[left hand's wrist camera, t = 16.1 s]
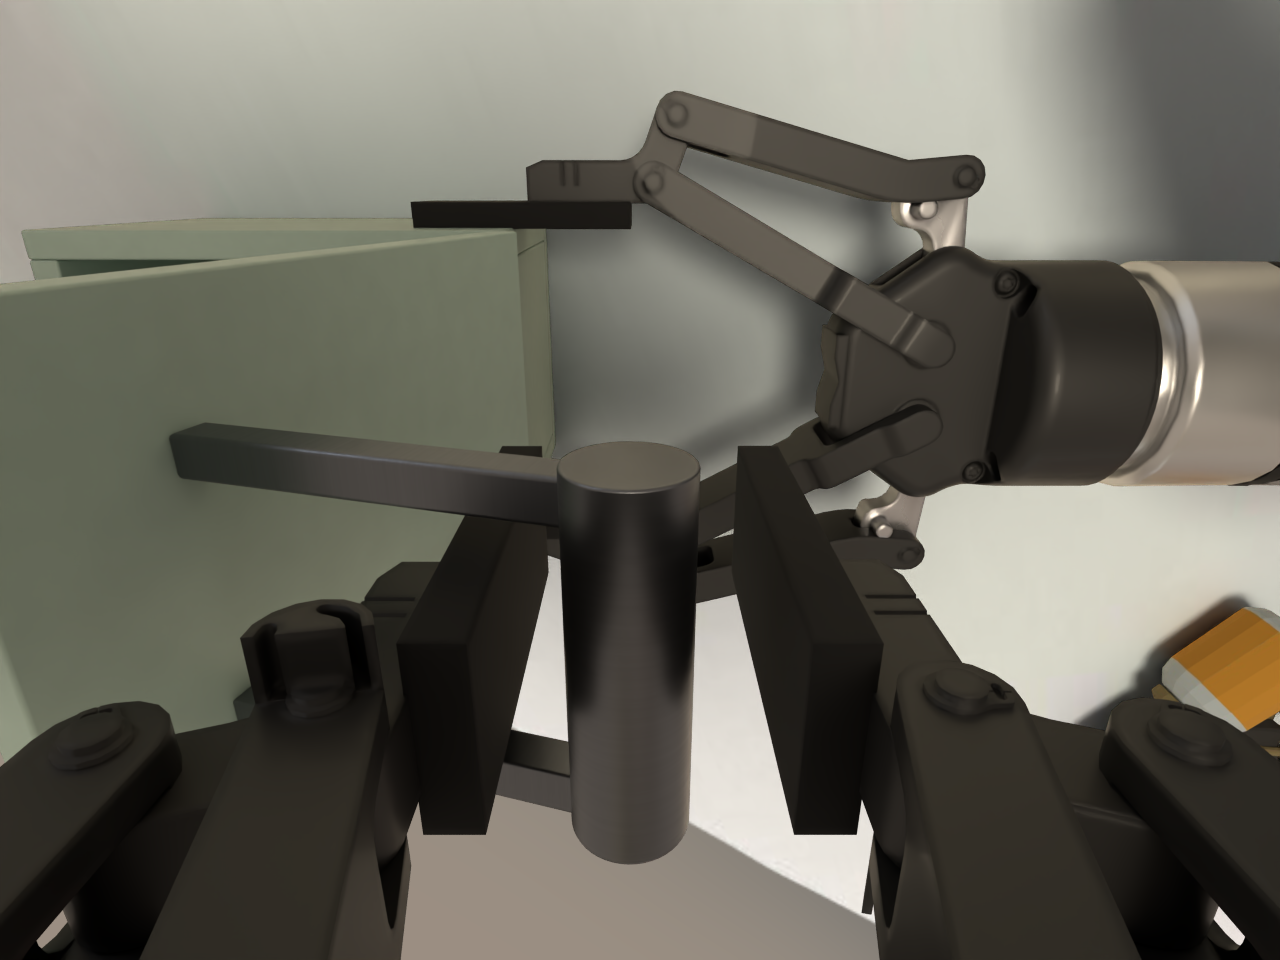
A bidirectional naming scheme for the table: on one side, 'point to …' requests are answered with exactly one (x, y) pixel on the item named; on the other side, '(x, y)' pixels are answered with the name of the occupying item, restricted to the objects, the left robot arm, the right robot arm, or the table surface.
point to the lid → (325, 500)
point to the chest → (269, 236)
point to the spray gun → (1232, 675)
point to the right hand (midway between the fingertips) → (440, 375)
